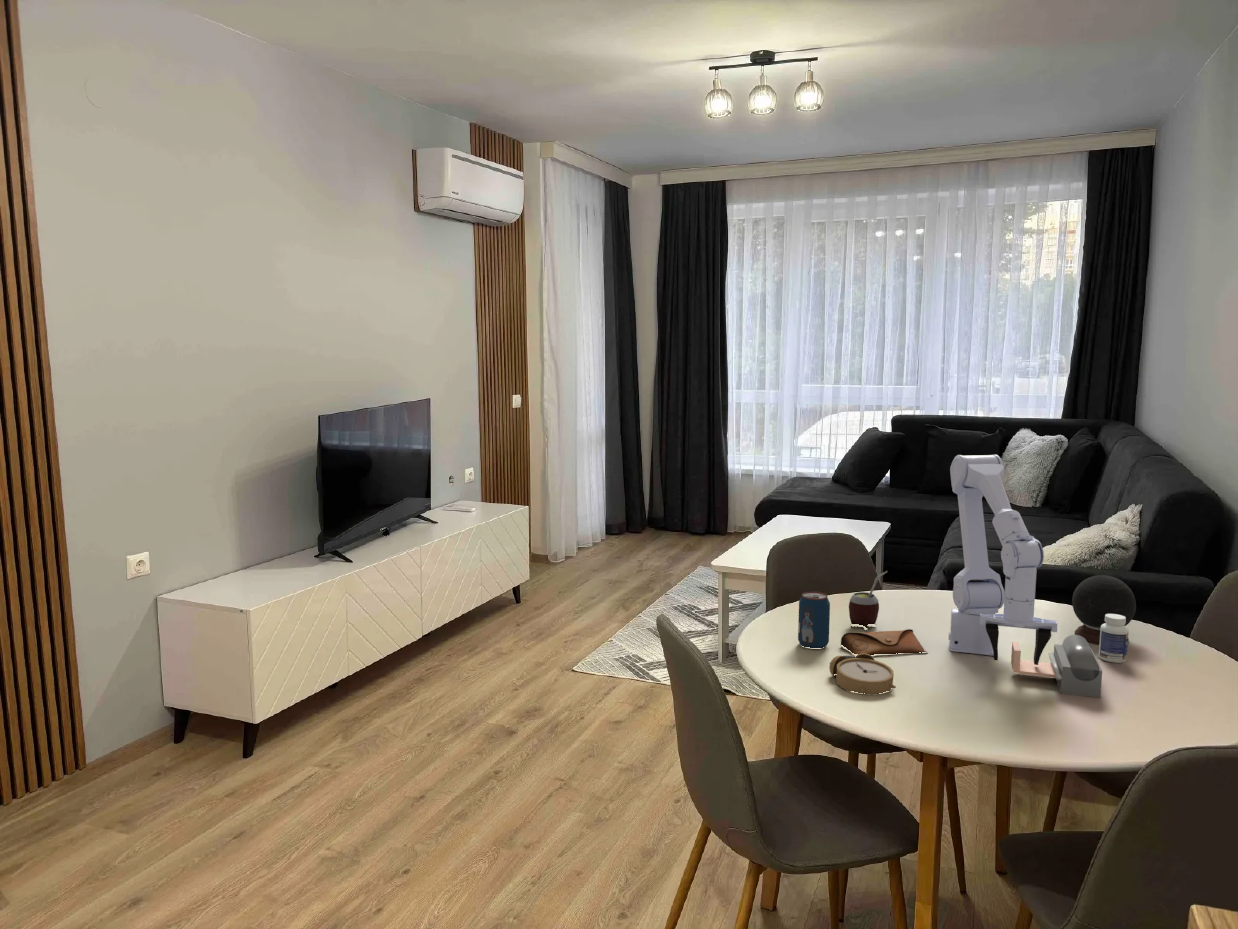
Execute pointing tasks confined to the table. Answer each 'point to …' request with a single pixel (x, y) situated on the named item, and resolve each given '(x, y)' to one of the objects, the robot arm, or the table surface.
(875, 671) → the alarm clock
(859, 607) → the mate gourd
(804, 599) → the soda can
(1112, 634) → the pill bottle
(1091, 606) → the black ball on stand
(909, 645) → the sunglasses case
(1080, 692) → the dispenser
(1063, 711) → the table surface
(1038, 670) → the pink l-shaped bracket
